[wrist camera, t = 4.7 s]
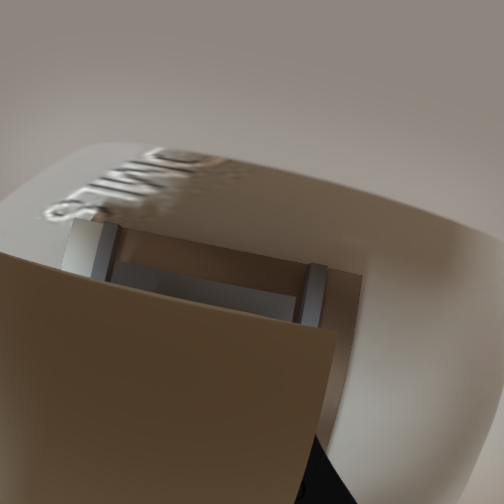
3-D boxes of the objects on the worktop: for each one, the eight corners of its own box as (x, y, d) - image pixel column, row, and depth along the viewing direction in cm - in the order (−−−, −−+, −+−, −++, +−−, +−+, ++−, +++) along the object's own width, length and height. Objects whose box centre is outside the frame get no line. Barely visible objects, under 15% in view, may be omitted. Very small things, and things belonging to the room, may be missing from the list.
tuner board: (295, 512, 13) (302, 531, 11) (58, 460, 13) (43, 472, 11) (350, 278, 16) (367, 274, 14) (86, 225, 15) (70, 214, 13)
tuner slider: (266, 420, 13) (359, 626, 1) (45, 361, 12) (-144, 398, 1) (291, 297, 14) (507, 252, 2) (63, 248, 13) (-125, 152, 2)
